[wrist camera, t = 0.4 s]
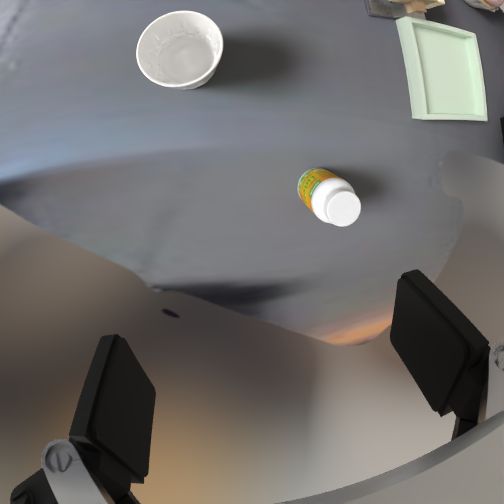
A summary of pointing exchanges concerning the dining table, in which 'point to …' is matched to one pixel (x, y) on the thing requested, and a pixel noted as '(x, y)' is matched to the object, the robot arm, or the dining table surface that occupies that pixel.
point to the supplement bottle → (329, 197)
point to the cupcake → (485, 4)
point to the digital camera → (503, 124)
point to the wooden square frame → (419, 5)
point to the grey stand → (389, 9)
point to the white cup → (180, 50)
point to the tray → (442, 71)
